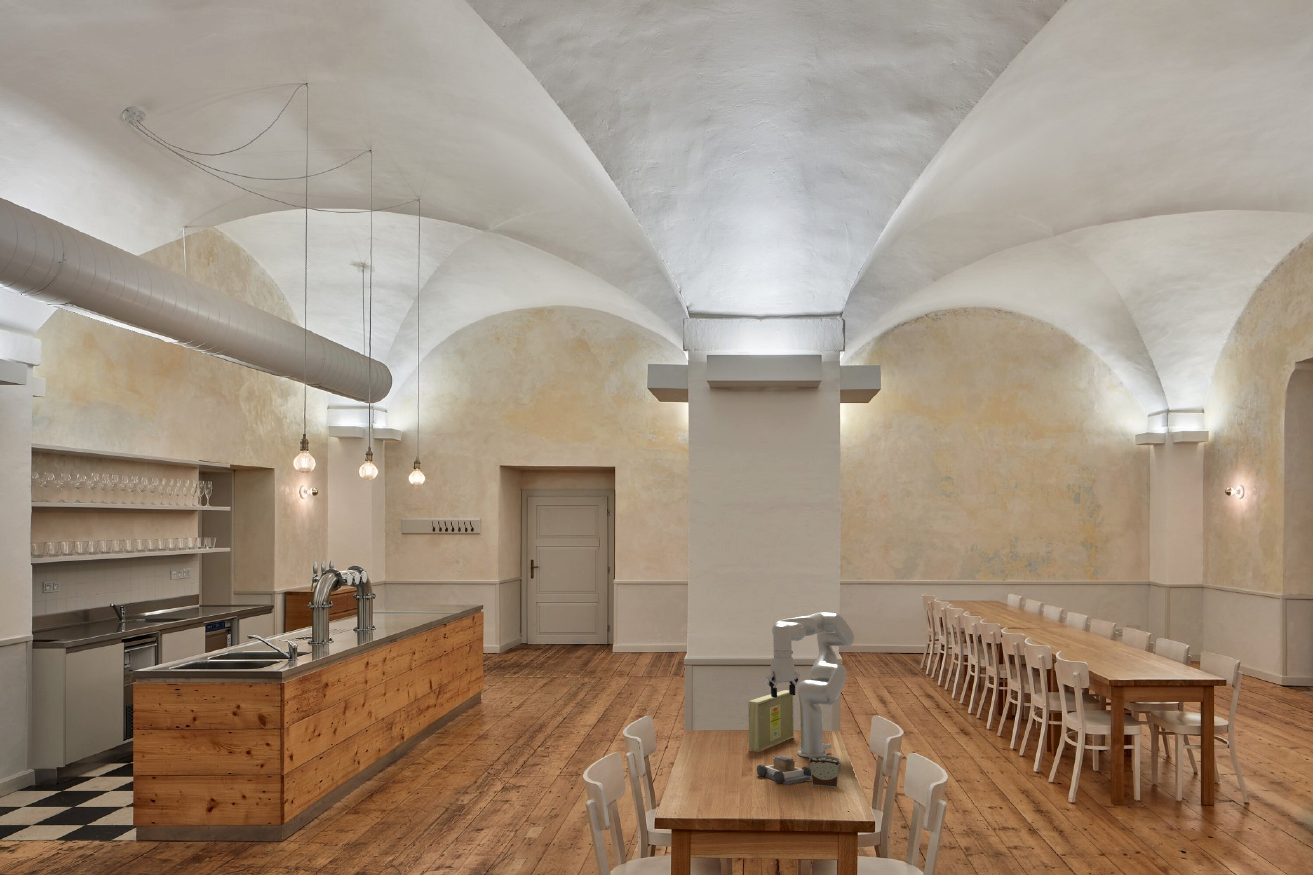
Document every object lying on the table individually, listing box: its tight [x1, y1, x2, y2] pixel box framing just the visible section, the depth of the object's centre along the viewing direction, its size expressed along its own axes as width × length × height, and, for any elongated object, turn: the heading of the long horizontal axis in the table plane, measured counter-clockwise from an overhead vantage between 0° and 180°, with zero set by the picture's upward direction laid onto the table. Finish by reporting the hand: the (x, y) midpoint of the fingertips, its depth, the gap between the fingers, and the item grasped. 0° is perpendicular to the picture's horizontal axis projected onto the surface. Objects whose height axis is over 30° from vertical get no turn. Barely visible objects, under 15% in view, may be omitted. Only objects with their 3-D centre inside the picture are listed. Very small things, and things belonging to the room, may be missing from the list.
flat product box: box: [747, 689, 795, 753], centre depth 423 cm, size 35×5×22 cm, turn 145°
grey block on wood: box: [772, 754, 796, 772], centre depth 366 cm, size 5×7×6 cm
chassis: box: [756, 764, 812, 786], centre depth 365 cm, size 15×18×4 cm
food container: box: [807, 755, 841, 788], centre depth 356 cm, size 12×6×10 cm, turn 71°
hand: (783, 695), depth 387 cm, fingers open, 9 cm apart
